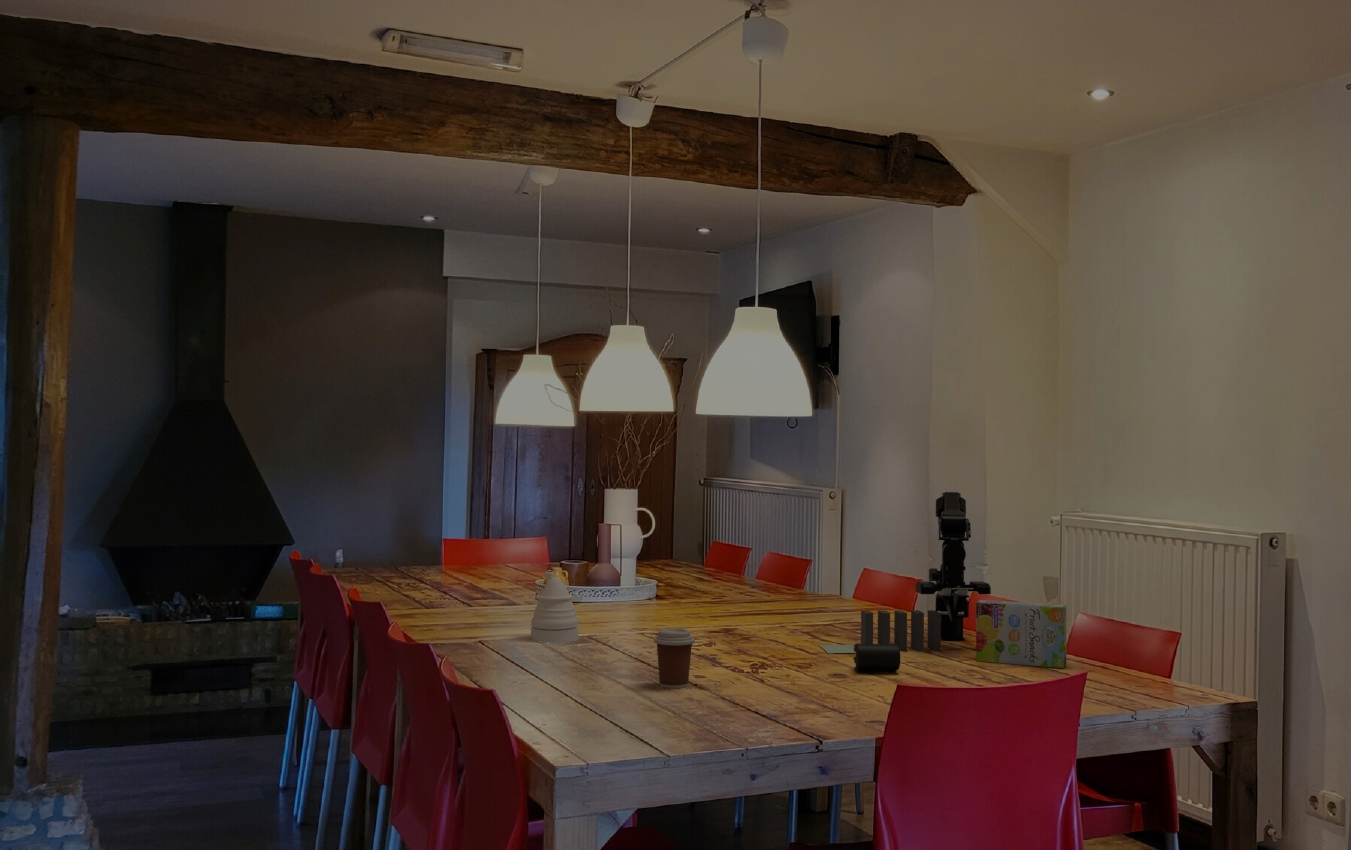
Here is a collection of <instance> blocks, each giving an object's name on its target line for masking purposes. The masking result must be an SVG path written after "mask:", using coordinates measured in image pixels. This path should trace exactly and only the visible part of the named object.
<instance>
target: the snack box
mask: <svg viewBox="0 0 1351 850" xmlns="http://www.w3.org/2000/svg"><path fill="white" fill-rule="evenodd" d="M975 608H976V609H975V661H976V662H981V663H983V662H984V663H985V662H986V663H994V664H1005V665H1021V666H1030V667H1044V668H1054V669H1055V668H1058V669H1065V667H1066V666H1067V604H1056V603H1055V604H1054V603H1042V602H1041V603H1039V602H1037V603H1036V602H1028V601H1027V602H1026V601H1025V602H1024V601H1007V600H1006V601H1004V600H1002V601H1001V600H988V599H986V600H984V599H980V600H978V601H976V604H975Z"/></svg>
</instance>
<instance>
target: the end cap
mask: <svg viewBox="0 0 1351 850" xmlns="http://www.w3.org/2000/svg"><path fill="white" fill-rule="evenodd" d="M853 646H854V651H855V652H856V654H855V656H853V662H854V664H855V666H854V670H855V671H856V673H865V672H867V673H866V674H868V672H869V673H870V672H874V674H875V672H876V673H877V672H895V673H897V671H898V670H899V669H900V666H901V652H900V649H899V646H898V645H897V644H894V643H890V644H888V643H886V644H882V643H881V644H878V643H873V644H865V643H864V644H861V642H858V643H854V644H853Z"/></svg>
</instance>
